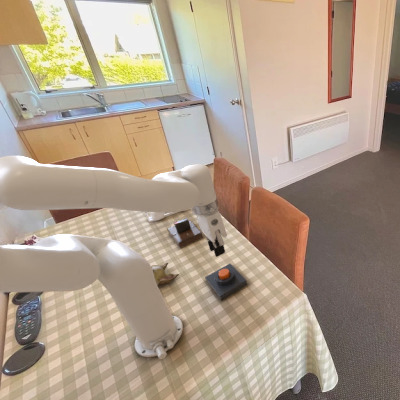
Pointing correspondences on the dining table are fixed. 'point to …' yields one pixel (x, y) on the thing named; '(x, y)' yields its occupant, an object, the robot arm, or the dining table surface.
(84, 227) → the dining table surface
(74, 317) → the dining table surface
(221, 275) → the button
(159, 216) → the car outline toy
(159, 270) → the ceramic sculpture
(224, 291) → the button block
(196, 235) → the panel
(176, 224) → the handle
